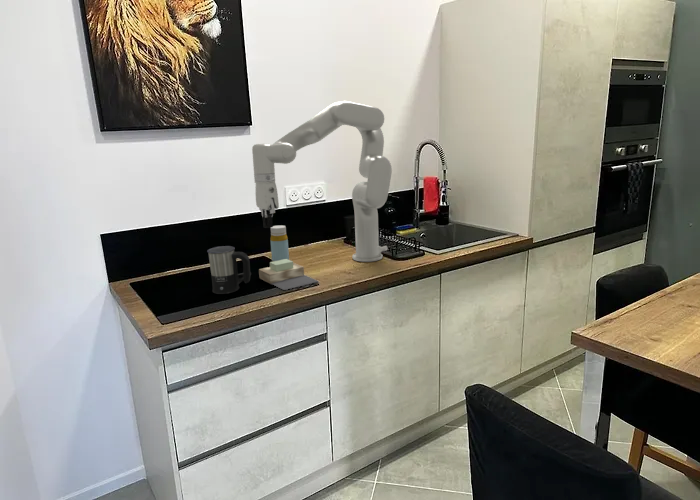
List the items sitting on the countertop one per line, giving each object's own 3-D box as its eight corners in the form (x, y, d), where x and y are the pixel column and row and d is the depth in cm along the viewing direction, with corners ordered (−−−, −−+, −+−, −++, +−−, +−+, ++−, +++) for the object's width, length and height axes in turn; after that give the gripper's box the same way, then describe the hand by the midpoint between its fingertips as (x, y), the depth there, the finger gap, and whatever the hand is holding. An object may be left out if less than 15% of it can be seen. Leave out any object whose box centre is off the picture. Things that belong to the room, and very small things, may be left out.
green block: (286, 265, 183) (286, 258, 182) (293, 267, 179) (293, 261, 178) (270, 268, 179) (269, 262, 178) (276, 271, 175) (276, 265, 174)
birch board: (292, 270, 187) (291, 262, 187) (304, 275, 180) (303, 266, 180) (259, 278, 180) (258, 269, 179) (270, 284, 172) (269, 274, 172)
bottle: (269, 263, 198) (266, 228, 194) (277, 259, 204) (275, 224, 201) (283, 265, 195) (281, 229, 192) (292, 260, 202) (289, 225, 198)
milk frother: (211, 296, 162) (206, 253, 159) (211, 282, 177) (207, 243, 174) (254, 290, 166) (250, 249, 162) (251, 277, 181) (247, 239, 177)
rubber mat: (304, 276, 180) (304, 275, 180) (318, 282, 173) (318, 281, 172) (271, 284, 172) (270, 283, 172) (284, 290, 165) (284, 289, 165)
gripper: (283, 178, 173) (286, 229, 178) (264, 176, 185) (268, 223, 189) (264, 180, 169) (268, 231, 173) (246, 177, 180) (250, 225, 185)
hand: (268, 227), depth 181 cm, fingers closed
